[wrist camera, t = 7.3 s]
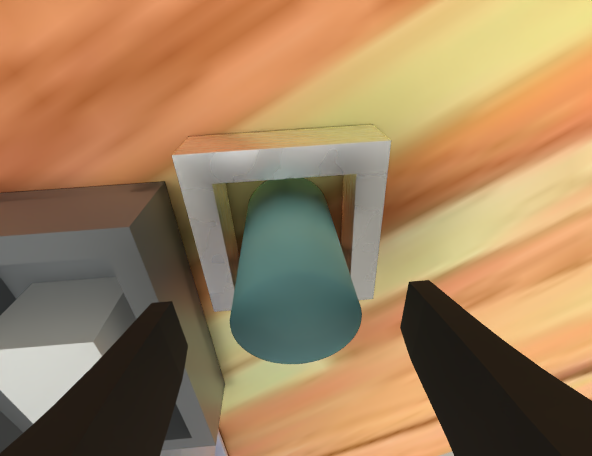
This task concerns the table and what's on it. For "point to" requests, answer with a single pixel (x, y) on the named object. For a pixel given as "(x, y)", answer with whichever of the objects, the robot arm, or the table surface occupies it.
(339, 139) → the white square frame
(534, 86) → the table surface
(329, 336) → the teal cylinder
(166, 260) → the case
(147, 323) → the robot arm
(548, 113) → the table surface
